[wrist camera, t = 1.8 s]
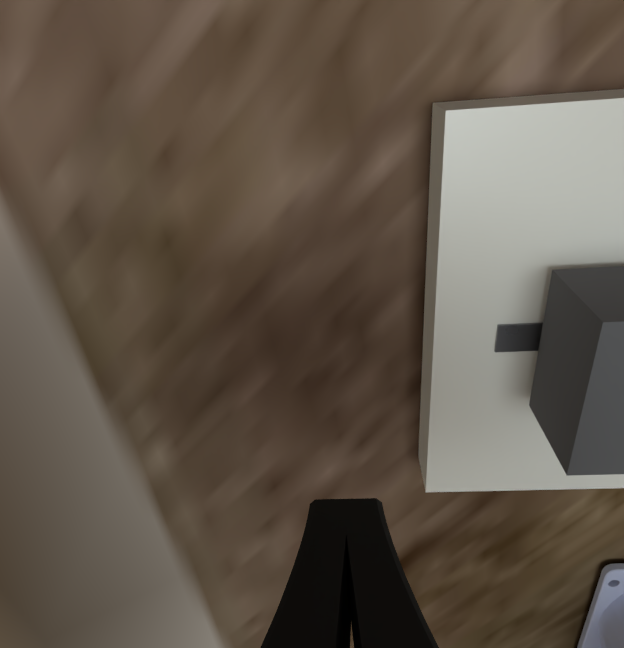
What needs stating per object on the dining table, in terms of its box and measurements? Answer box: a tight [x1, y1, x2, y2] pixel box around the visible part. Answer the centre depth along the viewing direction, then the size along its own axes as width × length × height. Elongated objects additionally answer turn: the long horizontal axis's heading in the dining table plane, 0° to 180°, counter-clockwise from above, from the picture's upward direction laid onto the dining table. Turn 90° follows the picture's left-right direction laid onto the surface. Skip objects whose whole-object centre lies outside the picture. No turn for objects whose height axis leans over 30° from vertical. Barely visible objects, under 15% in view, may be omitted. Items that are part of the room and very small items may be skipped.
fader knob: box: [529, 266, 624, 476], centre depth 15 cm, size 5×4×3 cm
